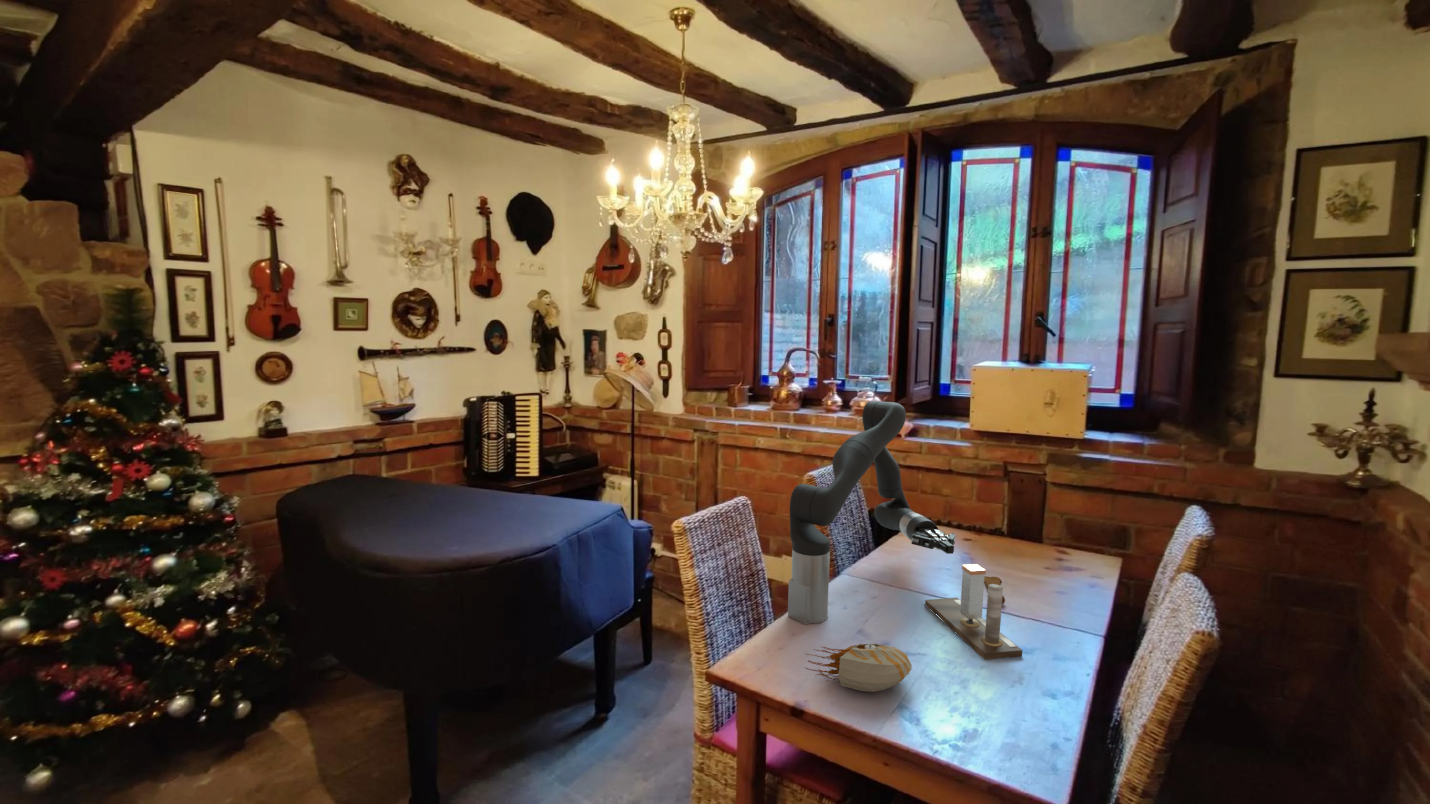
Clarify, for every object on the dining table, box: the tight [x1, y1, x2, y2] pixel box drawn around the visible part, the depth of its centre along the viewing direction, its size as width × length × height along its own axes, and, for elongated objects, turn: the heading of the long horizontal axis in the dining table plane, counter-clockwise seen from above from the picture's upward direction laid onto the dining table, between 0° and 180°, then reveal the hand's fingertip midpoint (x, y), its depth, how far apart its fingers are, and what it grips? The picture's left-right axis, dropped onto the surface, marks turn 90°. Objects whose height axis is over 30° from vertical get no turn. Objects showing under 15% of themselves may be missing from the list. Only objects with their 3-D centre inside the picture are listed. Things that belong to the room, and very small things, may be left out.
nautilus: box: [803, 643, 912, 693], centre depth 132 cm, size 8×22×15 cm
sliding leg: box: [960, 563, 987, 622], centre depth 153 cm, size 4×4×13 cm
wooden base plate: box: [924, 584, 1023, 661], centre depth 153 cm, size 27×9×14 cm, turn 10°
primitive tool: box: [984, 575, 1006, 605], centre depth 176 cm, size 19×6×4 cm, turn 165°
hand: (950, 549), depth 161 cm, fingers closed
